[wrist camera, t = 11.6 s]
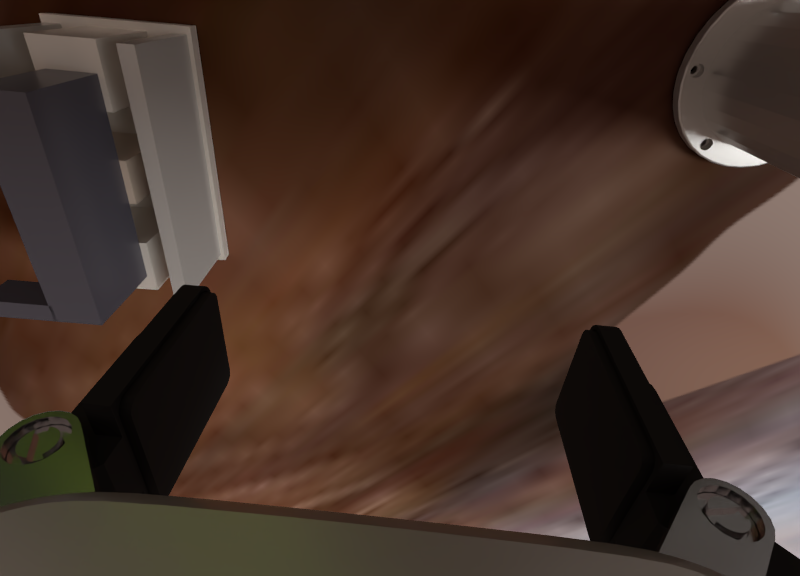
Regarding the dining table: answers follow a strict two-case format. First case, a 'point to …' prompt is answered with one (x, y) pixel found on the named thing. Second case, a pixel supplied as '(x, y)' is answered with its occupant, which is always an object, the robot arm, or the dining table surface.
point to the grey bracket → (65, 199)
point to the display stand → (144, 128)
